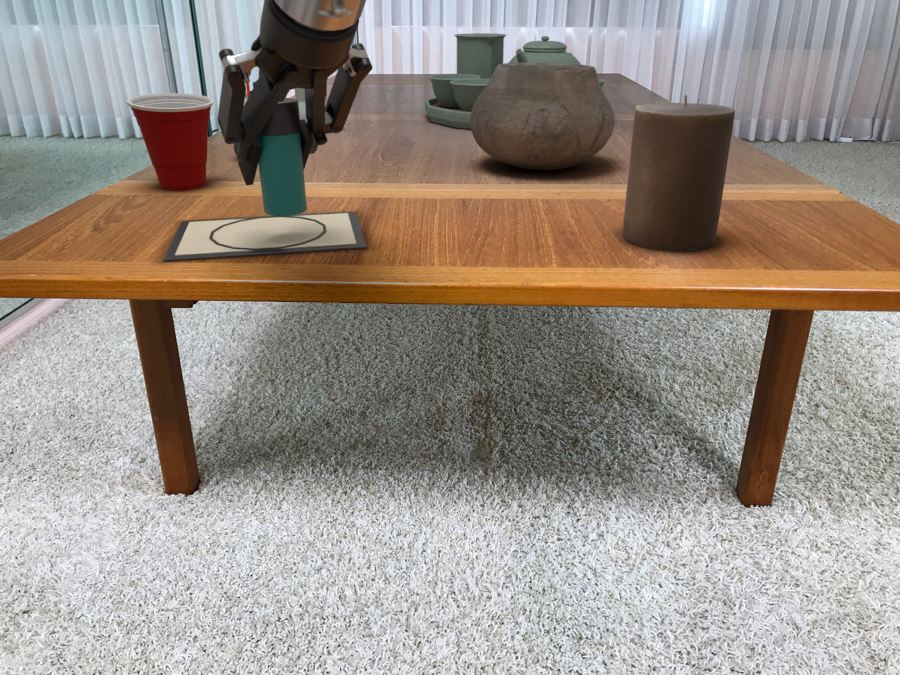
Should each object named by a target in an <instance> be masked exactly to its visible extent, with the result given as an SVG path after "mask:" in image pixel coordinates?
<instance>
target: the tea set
mask: <svg viewBox="0 0 900 675" xmlns="http://www.w3.org/2000/svg"><path fill="white" fill-rule="evenodd" d="M506 36H507V34H505V33H489V32H488V33H483V32H482V33H479V32H477V33H475V32H473V33H456V34H454V37H455V38H456V73H442V74H433V75H429V76H428V79H429V80H430V82H431V87H432V91H433V94H434V96H435V97H431V98H428V99H425V100H424V110H425V112H426V115H427V117H428V119H429V121H430V122H431V123H434V124H438V125H441V126H446V127H450V128H455V129H460V130H461V129H462V130H471V128H470V123H469V122H470V115H471V111H472V109H473V106H474V103H475V102H476V100H477V98H478V96H479V95H480V94H481V92H482V91H483V89H484V88H485V87H486V85H487V84H488V82H489V80H490V78H491V76H492V75H493V73H494V71H495V69H496V67H497V66H498V65H499V64H504V42H505V37H506ZM567 48H568V46H567V45H566V43H564V42H562V41H557V40H550V36H548V35H543V36H541V37H540V40H531V41H528V42H526V43H524V45H523V46H522V48H517V50H516V51H515V55H514V56H513V57H512V58H511V59H510V60H509V61H508V63H560V64H580V65H582V64H581V62H580V61H579V60H578V58H577V57H576V56H574V54H572V52H567ZM598 81H599V83H600V86H601V89H602V88H603V86H604V84H605V82H606V81H605V79H604V78H598ZM602 90H603V89H602Z"/></svg>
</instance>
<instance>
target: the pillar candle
mask: <svg viewBox="0 0 900 675" xmlns="http://www.w3.org/2000/svg"><path fill="white" fill-rule="evenodd" d="M735 114H736V110H735V109H734V108H732V107H730V106H725V105H719V104H710V103H697V102H695V103H692V102H688V95H687V94H684V102H662V103H661V102H659V103H646V104H645V103H644V104H638V105H635V108H634V118H633V126H632V136H631V146H630V157H629V168H628V173H627V174H628V177H627V186H626V193H625V205H624V212H623V225H622V238H623V240H625V241H626V242H627V243H629V244H631V245H633V246H636V247H639V248H642V249H644V250H645V249H646V250H651V251H658V252H667V253H682V254H683V253H698V252H701V251H704V250H708V249H712V248H713V247H714V246H715V245H716V241H717V234H718V233H717V232H718V227H719V220H720V216H721V209H722V203H723V202H722V201H723V194H724V188H725V182H726V175H727V169H728V168H727V167H728V161H729V155H730V148H731V141H732V135H733V129H734V121H735V117H736V116H735Z"/></svg>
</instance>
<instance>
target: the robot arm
mask: <svg viewBox="0 0 900 675" xmlns="http://www.w3.org/2000/svg"><path fill="white" fill-rule="evenodd" d="M366 2H367V0H263V6H262V12H261V15H260V16H261V17H260V24H259V34H258V36H257V37H256V39H255V40H254V41H253V42H252V44H251V45H250V50H247V51H244V52H240V53H236V54H235V53H234V51H233V49H231V48H223V49H221V50H220V51H219V52H218V57H219V59H220V63H221V65H222V67H223V73H222V80H221V89H220V98H219V103H218V104H219V105H218V112H217V118H216V119H217V120H216V121H217V123H218V126H219V129H220V132H221V135H222V137H223V141H224V143H225V144H227V145H233V151H234V153H235V156H236V159H237V162H238V163H237V165H238V167H239V170H240V173H241V175H242V178H243V182H244V184H245V186H254V182H255V178H256V174H257V170H258V167H259V163H258V162H259V158H260V153H261V149H262V145H261V143H260V140H259V135H260V133H261V132H262V130H263V128H264V126H265V125H266V123H267V121H268V119H269V118H270V116H271V114H272V112H273V111H274V109H275V107H276V106H277V104H278V102H283V101H284V99H285V98H287V96H288V94H289V93H290V91H291V90H295V89H296V88H302V89H305V108H306V119H307V124H306V121H305V119H303V120H300V127H301V131H300V138H301V149H302V159H303V170H304V171H305V168H306V165H307V162H308V159H309V156H310V155H312V154H313V155H314V154H315V153H316V152H317V151H318V147H319V146H323V145H325V144H327V142H328V137H327V135H326V133H329V132H332V133H333V134H339V133H341V132H342V131H343V130H344V128H345V125H346V123H347V120H348V117H349V115H350V112H351V111H352V110H351V109H352V107H353V104H354V103H355V100H356V96H357V95H358V91H359V89H360V86H361V84H362V82H363V81H364V80H365V78H366V77H367V76H368V75H369V74H370V73H371V71H372V70H373V65H372V62H371V60H370V57H369V54H368V53H367V51H366V48H365V46H364V44H363V43H360V42H357V43H355V44H353V43H354V42H353V41H354V38H355V36H356V33H357V30H358V27H359V24H360V18H361V17H362V15H363V11H364V9H365V5H366ZM352 44H353V45H352ZM255 68H258V78H257V80H256V82H255V84H254V86H253V88H252V90H251V91H250V95H249V97H248V96H247V99H246V95H247V88H246V83H249V84H250V81H251V79H250V76H251V75H252V70H253V69H255ZM335 72H336V74H335V77H334V80H333V83H332V86H331V89H330V92H329V95H328V79H329V77H331V76H332V75H333V74H334V73H335ZM325 97H328V98H327V103H326V106H325ZM244 101H246V103H245V105H244ZM328 131H329V132H328Z"/></svg>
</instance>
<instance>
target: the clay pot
mask: <svg viewBox="0 0 900 675" xmlns="http://www.w3.org/2000/svg"><path fill="white" fill-rule="evenodd" d="M598 79H599V77H598V73H597V70H596V67H595V66H593V65H588V64H581V65H580V64H560V63H509V62H505V63H504V62H503V64H499V65H498V66H497V67H496V69H495V71H494V73H493V75H492V76H491V78H490V80H489V82H488V84H487V85H486V87H485V88H484V89H483V91H482V92H481V94H480V95H479V96H478V98H477V100H476V102H475V103H474V106H473V109H472V111H471V115H470V122H469V123H470V128H471V129H470V132H471V133H472V137H473V138H474V140H475V143H476V145H477V146H478V147H479V148H480V149H481V150H482V151H483V152H485V153H486V155H488V156H489V157H491V158H493V159H494V160H496V161H498V162H500V163H504V164H506V165H508V166H512V167H515V168H519V169H523V170H529V171H530V170H531V171H540V172H541V171H545V172H546V171H556V170H557V171H558V170H564V169H567V168H568V169H569V168H571V167H575V166H576V165H579V164H582V163H584V162H585V161H588V160H589V159H591V158H593V157H594V156H595V155H596V154H598V153H599V152H600V151H602V149H603V148H604V147H605V146H606V145H607V143H608V142H609V140H610V138H611V137H612V135H613V133H614V129H615V124H616V120H615V119H616V118H615V113H614V111H613V107H612V105H611V102H610V101H609V99H608V97H607V96H606V94H605V92H604V90H603V89H601V86H600V83H599V81H598Z"/></svg>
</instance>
